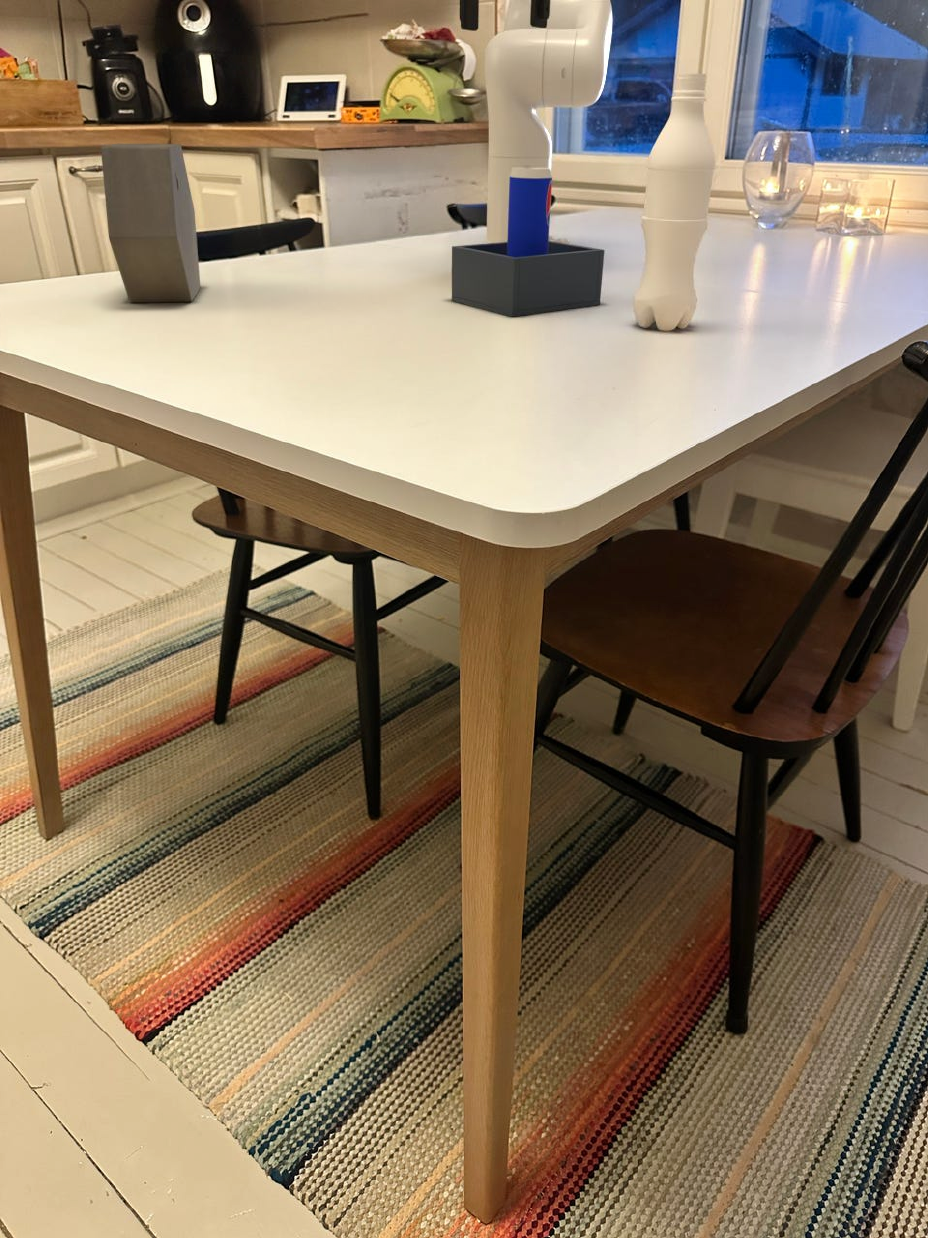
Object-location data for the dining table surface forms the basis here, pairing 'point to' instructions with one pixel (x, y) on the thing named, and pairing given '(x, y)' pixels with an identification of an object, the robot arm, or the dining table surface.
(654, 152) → the water bottle
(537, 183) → the beverage can
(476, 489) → the dining table surface
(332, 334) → the dining table surface
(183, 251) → the planter
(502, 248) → the tub
